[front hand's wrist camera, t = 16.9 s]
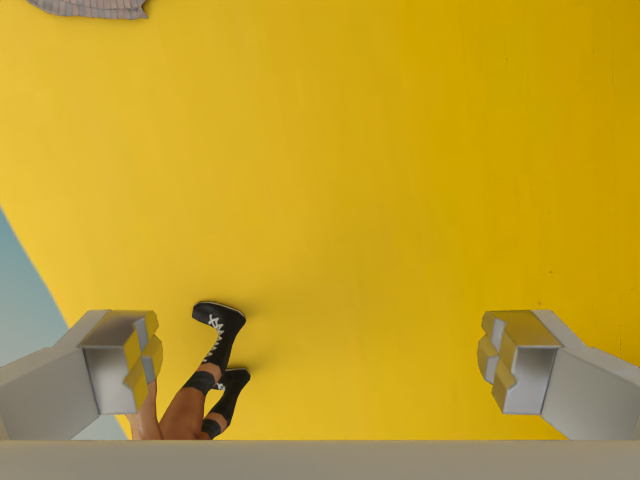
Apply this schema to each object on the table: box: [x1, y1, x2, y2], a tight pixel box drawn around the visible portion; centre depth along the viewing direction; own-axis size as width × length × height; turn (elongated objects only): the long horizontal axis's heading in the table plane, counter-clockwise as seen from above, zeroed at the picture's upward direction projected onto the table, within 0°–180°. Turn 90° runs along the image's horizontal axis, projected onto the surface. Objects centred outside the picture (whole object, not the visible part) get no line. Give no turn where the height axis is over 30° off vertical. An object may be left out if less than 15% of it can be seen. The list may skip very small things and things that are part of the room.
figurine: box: [125, 302, 250, 440], centre depth 34 cm, size 24×6×30 cm, turn 0°
